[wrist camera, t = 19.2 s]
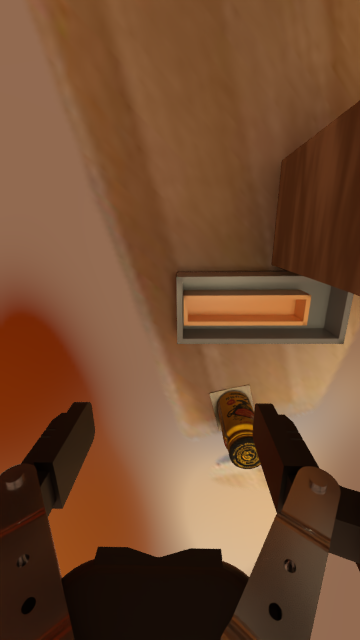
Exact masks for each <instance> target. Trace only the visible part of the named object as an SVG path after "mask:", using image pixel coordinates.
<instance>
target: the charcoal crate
mask: <svg viewBox="0 0 360 640" xmlns="http://www.w3.org/2000/svg"><path fill="white" fill-rule="evenodd" d="M176 284H177V344H343V343H344V339H345V334H346V329H347V324H348V319H349V314H350V309H351V304H352V299H353V295H354V294H353V293H350V292H347V291H344V290H342V289H339V288H336V287H333V286H330V285H327V284H324V283H322V282H319V281H316V280H313V279H310V278H307V277H305V276H302V275H299V274H296V273H293V272H290V271H240V272H177V276H176ZM184 290H302V291H304V292H306V293H308V294H310V295H311V302H310V308H309V315H308V321H307V325H252V326H184Z"/></svg>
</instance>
